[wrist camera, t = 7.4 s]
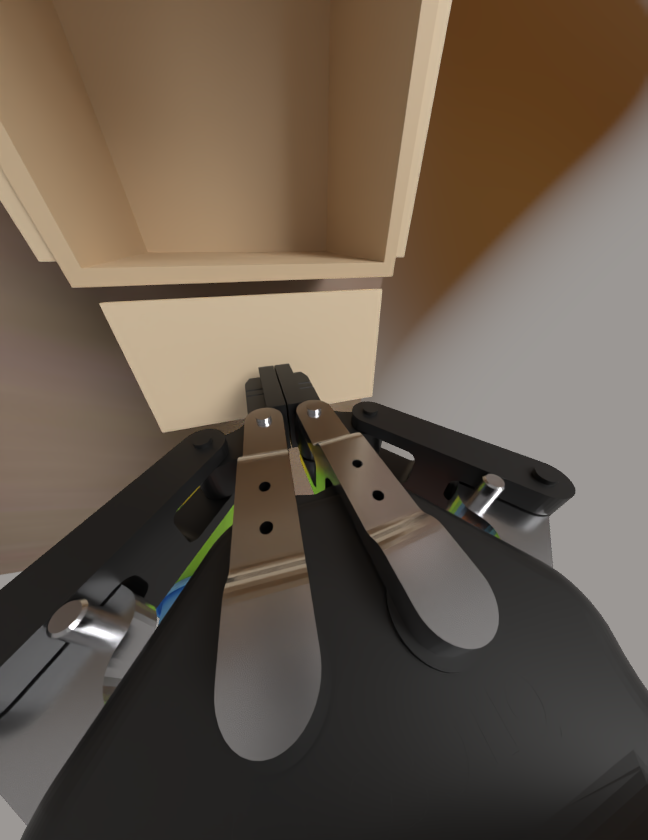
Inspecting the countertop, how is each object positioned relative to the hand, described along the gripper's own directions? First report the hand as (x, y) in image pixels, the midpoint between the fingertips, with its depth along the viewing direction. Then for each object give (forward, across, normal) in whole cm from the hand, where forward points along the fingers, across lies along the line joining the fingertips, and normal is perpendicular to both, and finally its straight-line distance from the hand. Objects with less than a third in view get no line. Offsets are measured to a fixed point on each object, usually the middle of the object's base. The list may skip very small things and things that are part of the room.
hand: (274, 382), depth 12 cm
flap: (+2, 0, -4) cm, 5 cm away
